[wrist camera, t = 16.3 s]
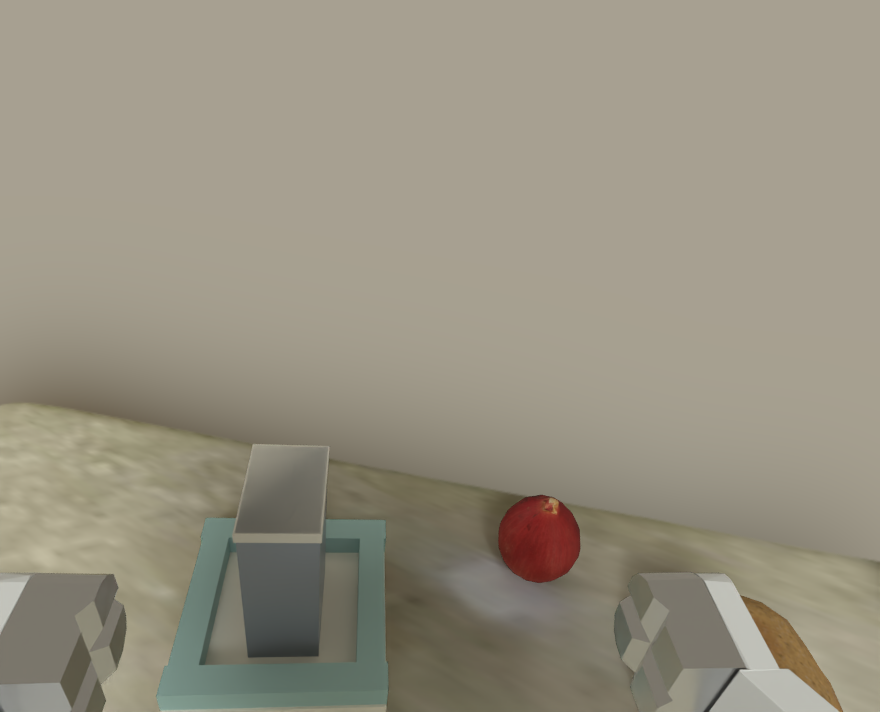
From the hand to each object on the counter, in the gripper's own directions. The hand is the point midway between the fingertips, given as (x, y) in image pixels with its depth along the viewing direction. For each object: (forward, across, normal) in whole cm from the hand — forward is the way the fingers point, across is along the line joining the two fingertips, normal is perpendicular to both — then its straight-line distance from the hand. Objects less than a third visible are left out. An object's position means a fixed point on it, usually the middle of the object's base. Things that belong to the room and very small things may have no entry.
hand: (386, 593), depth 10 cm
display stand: (+17, +4, +30) cm, 35 cm away
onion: (+22, -13, +30) cm, 40 cm away
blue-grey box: (+17, +4, +27) cm, 32 cm away
